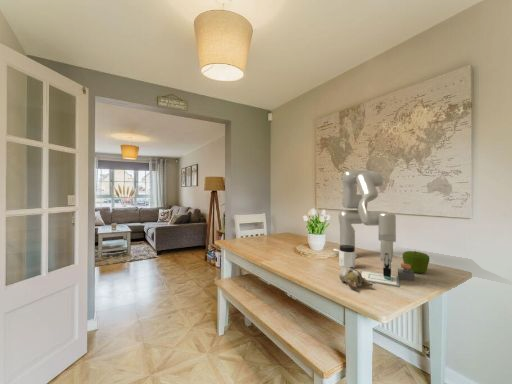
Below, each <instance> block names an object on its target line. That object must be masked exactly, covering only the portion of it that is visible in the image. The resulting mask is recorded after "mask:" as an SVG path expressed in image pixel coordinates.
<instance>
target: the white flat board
mask: <svg viewBox="0 0 512 384" xmlns="http://www.w3.org/2000/svg"><path fill="white" fill-rule="evenodd" d="M359 272H360V273H361V275H362V277H363V278H365V279H366V280H367V281H368V282H369V283H371V284H373V283H374V284H379V285H384V286H390V287H391V286H392V287H395V288H396V287H397V288H400V279H399V277H398V275H392V274H391V279H390V280H386V279H384V276H383V272H373V271H366V270H360V271H359Z"/></svg>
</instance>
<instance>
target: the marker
mask: <svg viewBox="0 0 512 384" xmlns="http://www.w3.org/2000/svg"><path fill="white" fill-rule="evenodd" d="M382 262H384V260H383V261H382ZM388 262H389V261H388ZM388 264H389V263H388ZM390 268H391V269H392V262H391V263H390ZM384 279H386V280H390V279H391V277H387V276H384Z"/></svg>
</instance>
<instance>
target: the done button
mask: <svg viewBox="0 0 512 384" xmlns="http://www.w3.org/2000/svg"><path fill="white" fill-rule="evenodd" d="M400 269H404V272H407V273H408V269H411V265H410V264H404V262H402V263H400Z"/></svg>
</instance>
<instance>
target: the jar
mask: <svg viewBox="0 0 512 384" xmlns="http://www.w3.org/2000/svg"><path fill="white" fill-rule="evenodd" d="M339 249H340V250H339V256H338V260H339V261H338V266H339V267H340V268H341V266H344V267H347V268H349V267H353V268H354V269H355V268H356V258H355V254H356V246H355V247H354V246H351V245H340V244H339Z"/></svg>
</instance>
